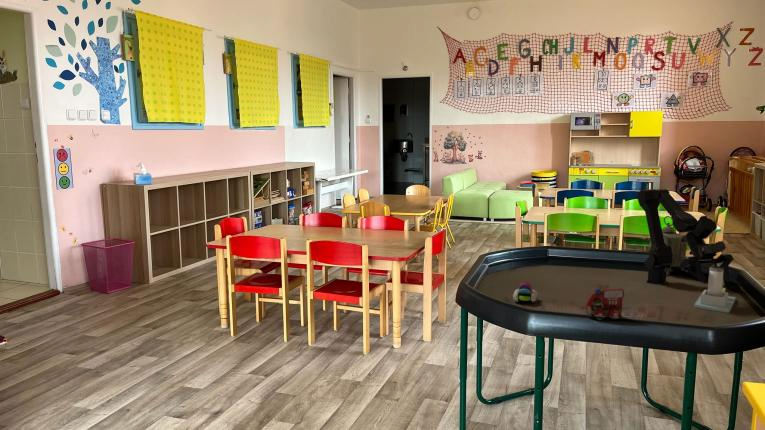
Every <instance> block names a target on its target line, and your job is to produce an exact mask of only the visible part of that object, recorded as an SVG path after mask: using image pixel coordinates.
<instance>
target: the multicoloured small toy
mask: <svg viewBox="0 0 765 430" xmlns="http://www.w3.org/2000/svg"><path fill="white" fill-rule="evenodd" d="M518 298H519V300H520V301H524V302H525V301H526V302H527V301H530V302H531V301H536V302H537V299H536V298H538V292H537V290H535V289H533V287H532V284H530V283H529V282H528V281H523V282H521V283H520V284H519V286H518V288H517V289H515V290H514V293H513V294H512V300H513V299H514V300H518ZM514 300H513V301H514ZM519 300H518V301H519Z"/></svg>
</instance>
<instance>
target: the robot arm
mask: <svg viewBox="0 0 765 430" xmlns="http://www.w3.org/2000/svg"><path fill="white" fill-rule="evenodd" d="M636 199H637V201H638V204H639V207H640V208H641V209H642V210H643V211H644V212H645V213H644V214H645V219H646V223H647V229H648V234H649V240H650V239H651V244H652V245H651V248H650V250H649V249H648V257H647V258H646V259H645V260H644V267H645V268H647V269H648V270H647V280H646V283H649V284H655V285H656V284H657V285H665V283H667V282H668V276H667V268H670V266H671V263H672V261H673V254H672V248H671V246H667V245H666V244H665V242H664V237H663V232H662V229H663V228H662V223H661V219H660V212H659V206H660V205H661V206H662V207H663V208H664V209H665V211H666V212H667V214H669V215H668V216H670V217H672V219H673V221H672V220H671V224H673V225H672V226H673V228H674V230H676V232H677V233H686V234H683V235H682V236H683V237H682V239H681V242H686V246H688V248H689V250H690V251H689V252H688V253H689V255H690V256H686V257H685V259H684V260H683V261H682V262H681V263H680V266H679V267H680V270H681V271H684V272H685V273H688V274H689V275H691V276H693V277H695V278H696V279H697V280H699V281H700V282H701V283H703V284H704V285H706V284H708V280H707V278H706V276H705V274H704V272H703V269H702V266H703V265H704V266H705V265H713V264H714V265H715V267H721V268H723V269H724V270H723V280H724V281H725V282H727V283H729V282H730V280H731V279H730V273H729V272H730V271H729V267H730V264H732V262H733V261H734V260H735V259H734V257H733V255H732V254H731V253H723V252H724V251H725V250H726V248H727V247H726V244H725V243H724V241H722V240H721V241H716V242H714V243H706V241H705V240H706V239H708V238H709V237H710V236H711V235H712V234H713V233H714V232H715V231H717V228H718V225H717V223H716V222H715V221H714V220H713V219H712V218H709V217H708V216H707V215H701V216H700V217H699V218H698V219H697V218H696V217H695V216H694V215H693V214H691V213H689V212H686V211H685V210H684V209H683V208H682V207H681V206H680V205H679V203H678V202H677V201H676V200H675V198H674V197H673V195H671V194H670V190H669V189H666V188H659V189H658V188H657V189H655V188H652V189H648V188H647V189H641V190H639V191H638V193H637V196H636ZM718 253H721V254H720V255H718ZM691 255H692V256H691ZM717 255H718V256H717ZM716 256H717V257H716ZM714 257H715V258H714ZM671 267H672V266H671Z"/></svg>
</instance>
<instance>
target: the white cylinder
mask: <svg viewBox="0 0 765 430" xmlns="http://www.w3.org/2000/svg"><path fill="white" fill-rule="evenodd" d="M708 269H709V272H708V281H707V290H708V295H711V296H718V297H721V296H722V288H723V287H722V283H723V280H724V278H723V270H724V269H723V268H721V267H711V266H709V268H708Z"/></svg>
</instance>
